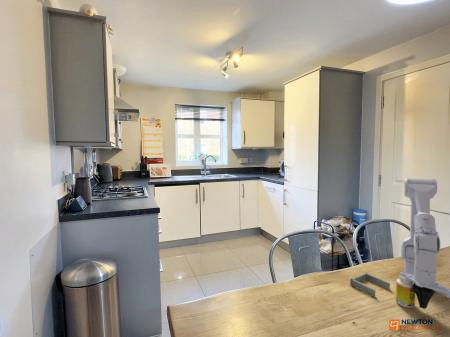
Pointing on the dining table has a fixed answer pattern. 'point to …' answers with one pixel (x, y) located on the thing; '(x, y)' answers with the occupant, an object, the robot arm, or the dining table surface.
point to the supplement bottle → (405, 292)
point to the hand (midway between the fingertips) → (423, 307)
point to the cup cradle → (362, 277)
